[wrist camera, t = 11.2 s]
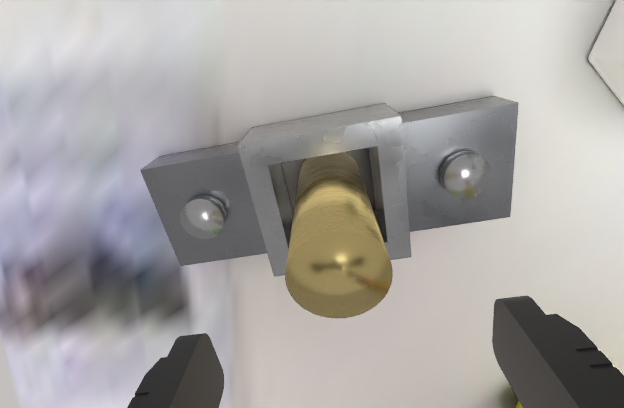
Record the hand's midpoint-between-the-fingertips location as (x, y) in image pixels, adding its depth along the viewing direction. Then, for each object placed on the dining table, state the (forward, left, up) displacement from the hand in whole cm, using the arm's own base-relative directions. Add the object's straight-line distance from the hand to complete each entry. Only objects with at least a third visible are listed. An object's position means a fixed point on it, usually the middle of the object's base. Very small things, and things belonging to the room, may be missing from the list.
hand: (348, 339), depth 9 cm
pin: (0, 0, -13) cm, 13 cm away
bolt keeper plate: (0, 0, -13) cm, 13 cm away
